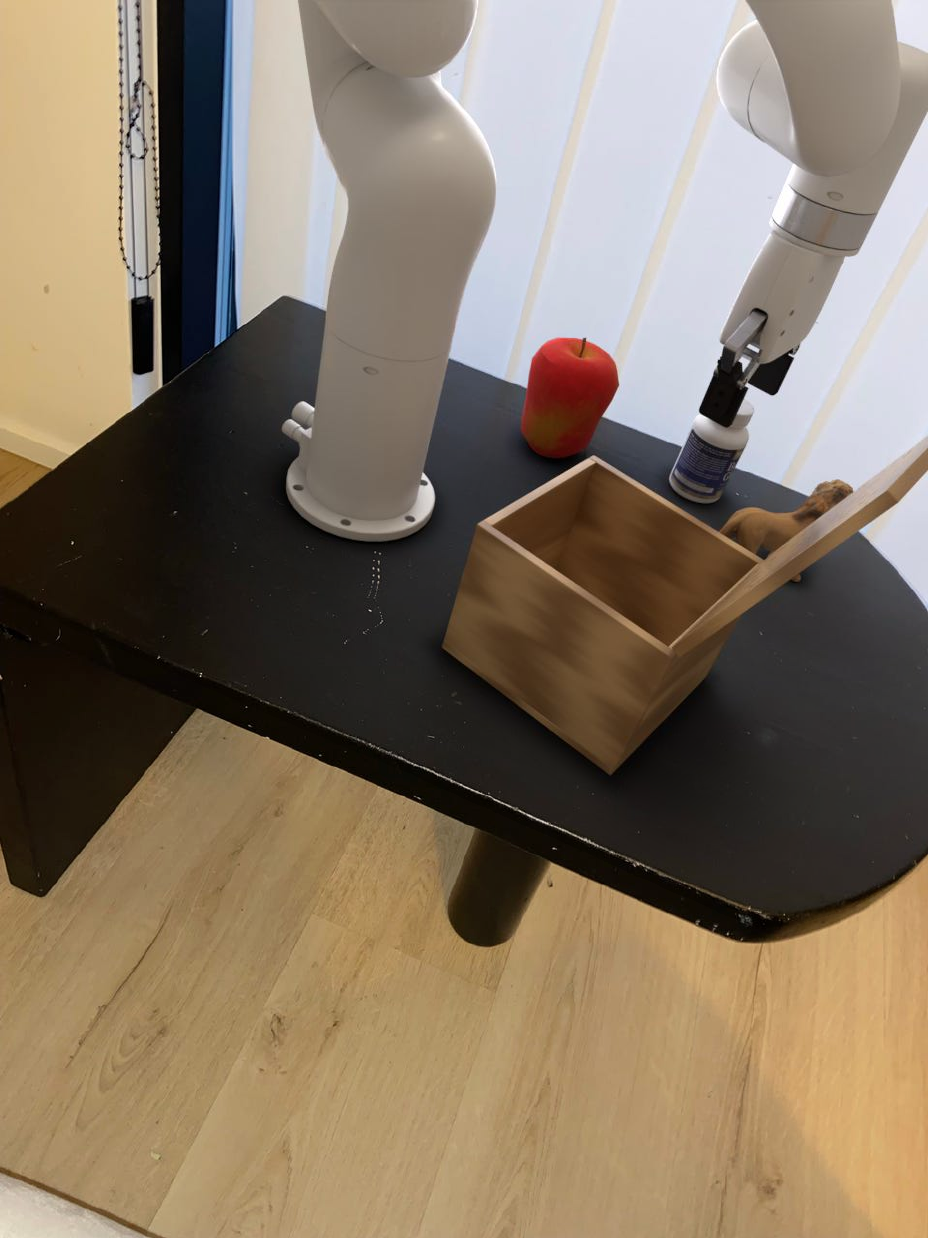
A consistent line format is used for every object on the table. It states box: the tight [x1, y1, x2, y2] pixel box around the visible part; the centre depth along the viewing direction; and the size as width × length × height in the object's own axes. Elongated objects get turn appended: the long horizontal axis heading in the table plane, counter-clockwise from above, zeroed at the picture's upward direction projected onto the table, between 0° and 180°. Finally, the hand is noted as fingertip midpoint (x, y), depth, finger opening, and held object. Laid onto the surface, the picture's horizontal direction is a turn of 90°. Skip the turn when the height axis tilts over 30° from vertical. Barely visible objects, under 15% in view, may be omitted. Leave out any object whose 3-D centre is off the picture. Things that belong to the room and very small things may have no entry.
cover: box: [672, 435, 928, 657], centre depth 55 cm, size 16×14×1 cm
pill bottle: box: [668, 398, 755, 504], centre depth 90 cm, size 5×5×10 cm
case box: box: [441, 455, 765, 776], centre depth 68 cm, size 15×14×12 cm
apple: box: [520, 336, 620, 459], centre depth 89 cm, size 9×8×12 cm
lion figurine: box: [718, 478, 855, 583], centre depth 83 cm, size 15×5×9 cm, turn 116°
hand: (738, 403), depth 87 cm, fingers open, 9 cm apart
